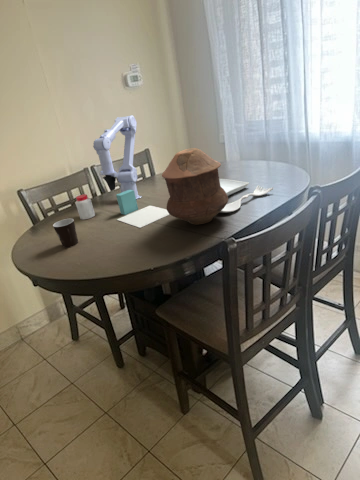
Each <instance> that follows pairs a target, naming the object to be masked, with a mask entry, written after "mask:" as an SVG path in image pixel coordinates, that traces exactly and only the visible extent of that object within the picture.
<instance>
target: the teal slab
mask: <svg viewBox="0 0 360 480" xmlns="http://www.w3.org/2000/svg"><path fill="white" fill-rule="evenodd" d="M115 197H116V201H117V203H118V205H117V206H118V208H119V212H120V214H121V215H124V216H126V215H129V214H131V213H133V212H136V211H138V210H139V207H138V202H137V199H136V197H135V193H134V190H127V191H125V192H122V193H121V192H120V193H116V194H115Z"/></svg>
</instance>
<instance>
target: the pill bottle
mask: <svg viewBox="0 0 360 480" xmlns="http://www.w3.org/2000/svg"><path fill="white" fill-rule="evenodd" d="M75 199H76V201H75V207H76V210H77V213H78V215H79V219H80V220H88V219H92V218H94V217H95V216H96V211H95V208H94V206H93V203H92V199H91V198H90V197H88V194H86V193H85V194H80V195H79V194H78V196H76V197H75Z"/></svg>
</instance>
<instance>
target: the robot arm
mask: <svg viewBox="0 0 360 480" xmlns="http://www.w3.org/2000/svg"><path fill="white" fill-rule="evenodd" d="M137 124H138V123H137V120H136V118H135V116H134V115H133V114H132V115H127V116H117V117H116V118H115V119H114V122H113V124H112V126H111V127H110V128H108V129H107V128H106V129H104V131H103V133H102V134H100V136H99V137H98V138H95V140H94V141H93V145H92V147H93V149H94V150H95V152H96V155H97V156H98V159H99V160H98V161H99V162H100V167H101V170H100V171H99V173H100V175H101V176H103V178H102V179H103V180H104V181H105V182H106V184H107V186H108V188H109V190H110V191H113V190H116V180H117V181H118V182H119V184H120V186H119V187H120V188H119V189H120V193H122V192H125V191H127V190H134V193H135V197H136V200H138V199H140V198H142V197H143V195H139V193H138V187H137V184H136V182H137V181H138V170H137V167H135V166H134V153H135V142H136V132H137ZM119 132H120V133H121V135H123V136H124V146H123V148H124V149H123V160H122V165H121V166H120V167H119V168H118V172H117V171H116V170H115V169H114V165H113V159H112V156H111V152H110V149H111V145H112V143H113V142H114V140H115V139H116V136H117V135H116V134H117V133H119Z"/></svg>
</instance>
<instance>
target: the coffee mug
mask: <svg viewBox="0 0 360 480" xmlns="http://www.w3.org/2000/svg"><path fill="white" fill-rule="evenodd" d="M52 226H53V229H54V231H55V233H56V235H57V238H58V239H59V242H60V244H61V245H62V247H63V248H65V249H66V248H67V249H68V248H71V247H74V246H76V245H77V244H79V241H78V240H79V239H78V234H77V230H76V229H77V228H76V224H75V220H74V218H65V219H61V220H59V221H56V222H54V223H53V224H52Z"/></svg>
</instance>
